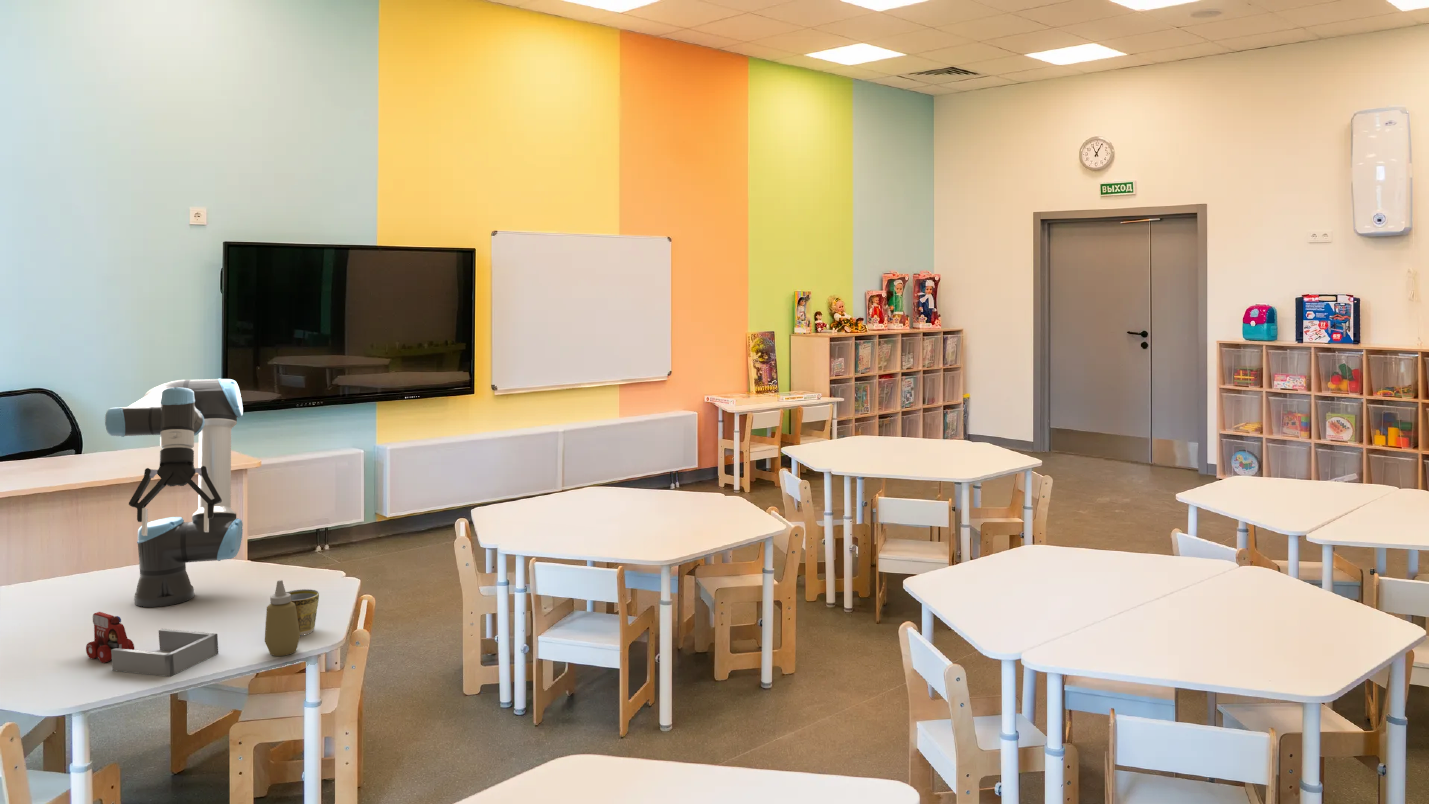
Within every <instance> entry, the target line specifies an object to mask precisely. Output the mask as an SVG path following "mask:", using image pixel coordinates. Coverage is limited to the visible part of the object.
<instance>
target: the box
mask: <svg viewBox="0 0 1429 804" xmlns="http://www.w3.org/2000/svg"><path fill="white" fill-rule="evenodd" d="M158 642H159V643H158V644H159V651H158V652H157V651H147V650H138V649H134V650H129V649H119V648H115V649H112V650H111V654H112V659H111V667H112V671H113V670H117V671H116V672H121V671H124V672H125V673H132V674H140V673H141V674H142V675H153V676H163V677H170V678H171V677H172V676H175V675H177V674H179V673H181V672H183V671H186V670H187V669H190V668H191V667H193V666H195V665H198V664H199V663H201V662H204V661H206V660H208V659H210V658H212V657H214V656H217V655H219V640H218V633H214V632H213V633H212V632H205V631H204V632H203V631H202V632H201V631H192V630H191V631H189V630H180V629H179V630H178V629H171V628H170V629H169V628H168V629H167V628H161V629H158ZM160 651H168V652H160ZM124 672H123V673H124Z"/></svg>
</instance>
